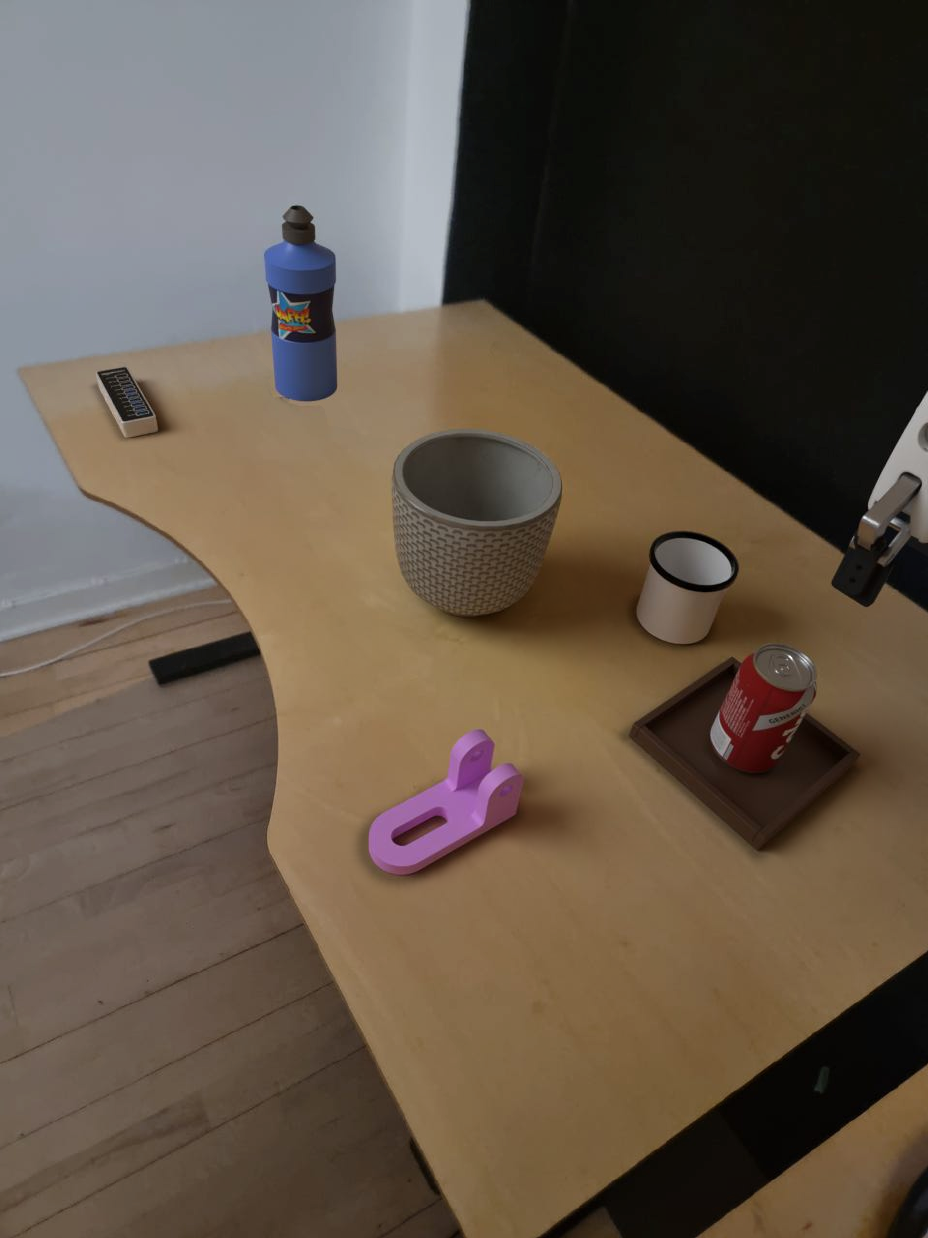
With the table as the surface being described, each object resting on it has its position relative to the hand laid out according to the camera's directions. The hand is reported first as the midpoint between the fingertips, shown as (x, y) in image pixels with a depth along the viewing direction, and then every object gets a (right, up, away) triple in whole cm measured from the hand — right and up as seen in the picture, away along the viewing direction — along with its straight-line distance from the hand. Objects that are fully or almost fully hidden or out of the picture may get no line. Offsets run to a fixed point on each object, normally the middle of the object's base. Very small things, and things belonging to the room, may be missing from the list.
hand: (884, 570), depth 64 cm
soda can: (-5, -16, +18) cm, 25 cm away
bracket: (-34, -22, +10) cm, 42 cm away
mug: (-7, -3, +32) cm, 33 cm away
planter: (-32, -1, +32) cm, 45 cm away
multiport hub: (-78, +25, +53) cm, 98 cm away
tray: (-5, -17, +18) cm, 25 cm away
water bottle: (-55, +31, +61) cm, 88 cm away
